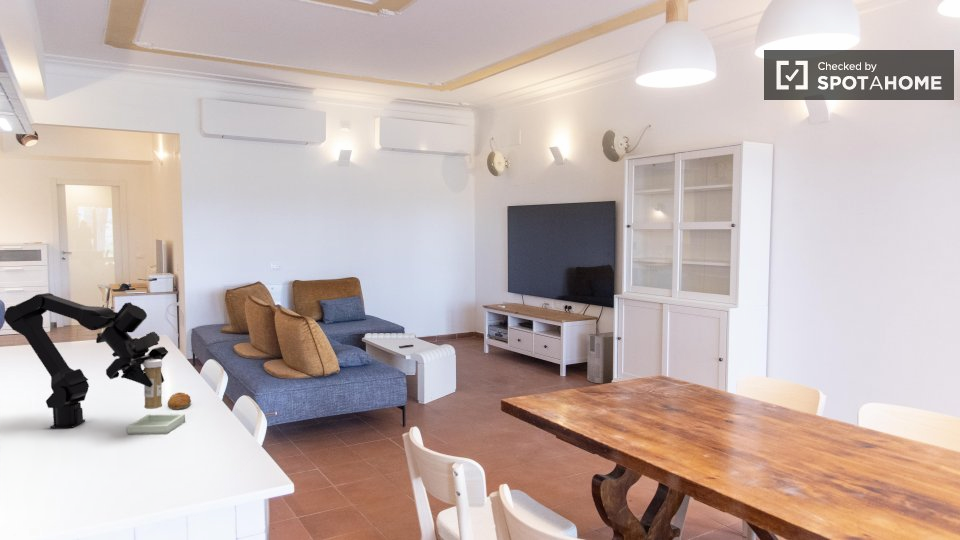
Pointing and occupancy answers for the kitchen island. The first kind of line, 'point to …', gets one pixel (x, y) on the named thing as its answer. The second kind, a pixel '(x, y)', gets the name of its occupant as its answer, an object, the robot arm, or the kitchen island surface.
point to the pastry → (179, 401)
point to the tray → (156, 424)
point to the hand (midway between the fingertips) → (157, 383)
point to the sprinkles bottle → (155, 390)
